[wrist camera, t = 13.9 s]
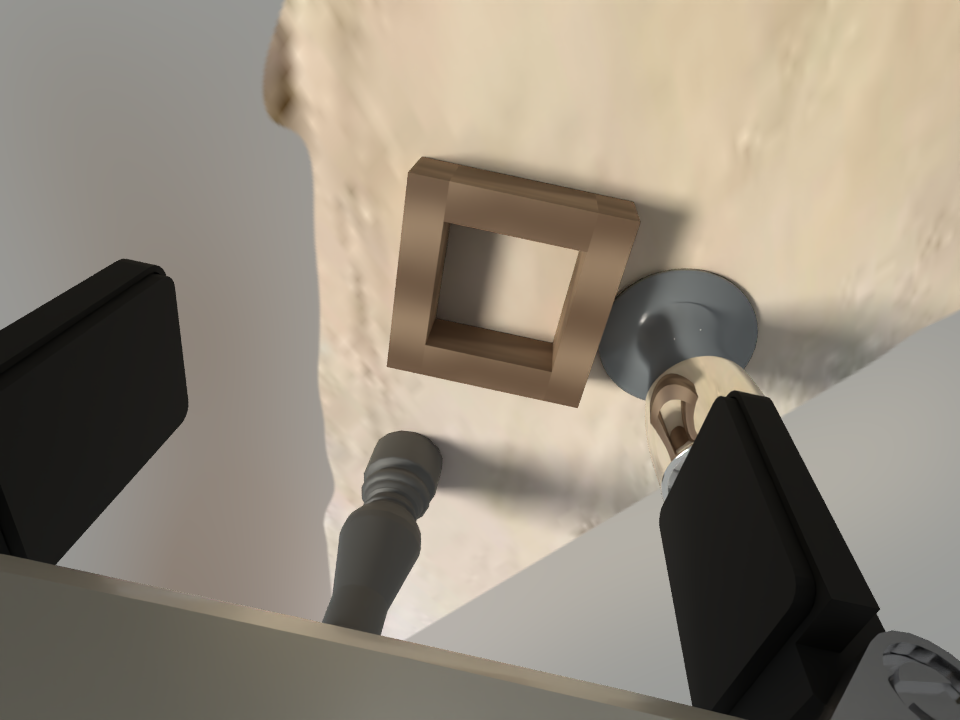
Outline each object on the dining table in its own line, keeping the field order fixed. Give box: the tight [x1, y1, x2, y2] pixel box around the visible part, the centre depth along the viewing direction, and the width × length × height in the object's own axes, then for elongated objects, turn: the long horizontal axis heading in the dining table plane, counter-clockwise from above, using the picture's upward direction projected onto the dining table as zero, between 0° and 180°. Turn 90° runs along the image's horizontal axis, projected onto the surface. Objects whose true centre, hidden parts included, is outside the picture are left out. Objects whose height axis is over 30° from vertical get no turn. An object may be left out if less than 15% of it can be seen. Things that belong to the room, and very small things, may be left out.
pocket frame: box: [387, 157, 640, 408], centre depth 40 cm, size 14×14×4 cm
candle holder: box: [322, 431, 442, 636], centre depth 41 cm, size 6×6×25 cm
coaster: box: [599, 269, 758, 400], centre depth 42 cm, size 11×11×1 cm
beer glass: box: [635, 302, 765, 501], centre depth 36 cm, size 7×7×15 cm
